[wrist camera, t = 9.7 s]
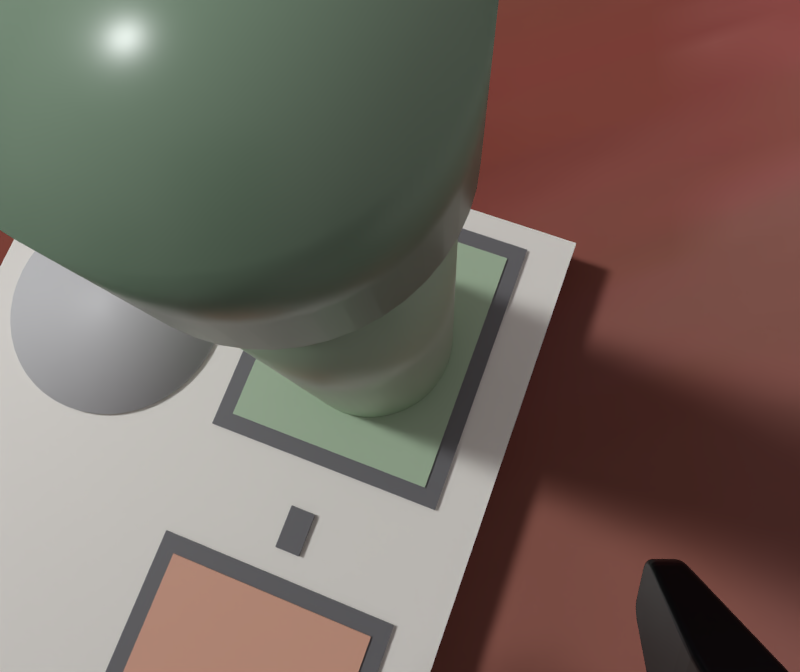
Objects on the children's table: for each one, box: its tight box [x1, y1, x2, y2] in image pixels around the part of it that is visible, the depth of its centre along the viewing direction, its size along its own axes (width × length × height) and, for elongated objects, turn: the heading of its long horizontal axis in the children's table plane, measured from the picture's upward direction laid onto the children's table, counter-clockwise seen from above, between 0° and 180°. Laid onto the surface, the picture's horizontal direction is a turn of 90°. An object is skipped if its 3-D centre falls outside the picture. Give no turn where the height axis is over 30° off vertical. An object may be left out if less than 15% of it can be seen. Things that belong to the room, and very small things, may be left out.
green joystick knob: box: [0, 0, 498, 417], centre depth 11 cm, size 4×4×12 cm
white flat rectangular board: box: [0, 209, 576, 672], centre depth 17 cm, size 18×14×1 cm
